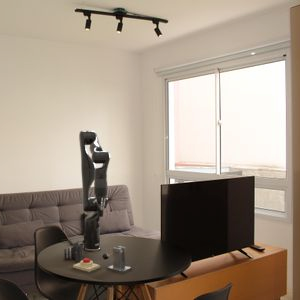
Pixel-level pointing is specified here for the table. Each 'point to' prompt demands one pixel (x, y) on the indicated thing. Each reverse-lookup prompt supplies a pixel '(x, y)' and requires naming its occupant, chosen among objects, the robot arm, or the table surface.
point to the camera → (74, 251)
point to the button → (86, 260)
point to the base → (119, 260)
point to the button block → (86, 266)
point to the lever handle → (105, 256)
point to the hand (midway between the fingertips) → (100, 216)
